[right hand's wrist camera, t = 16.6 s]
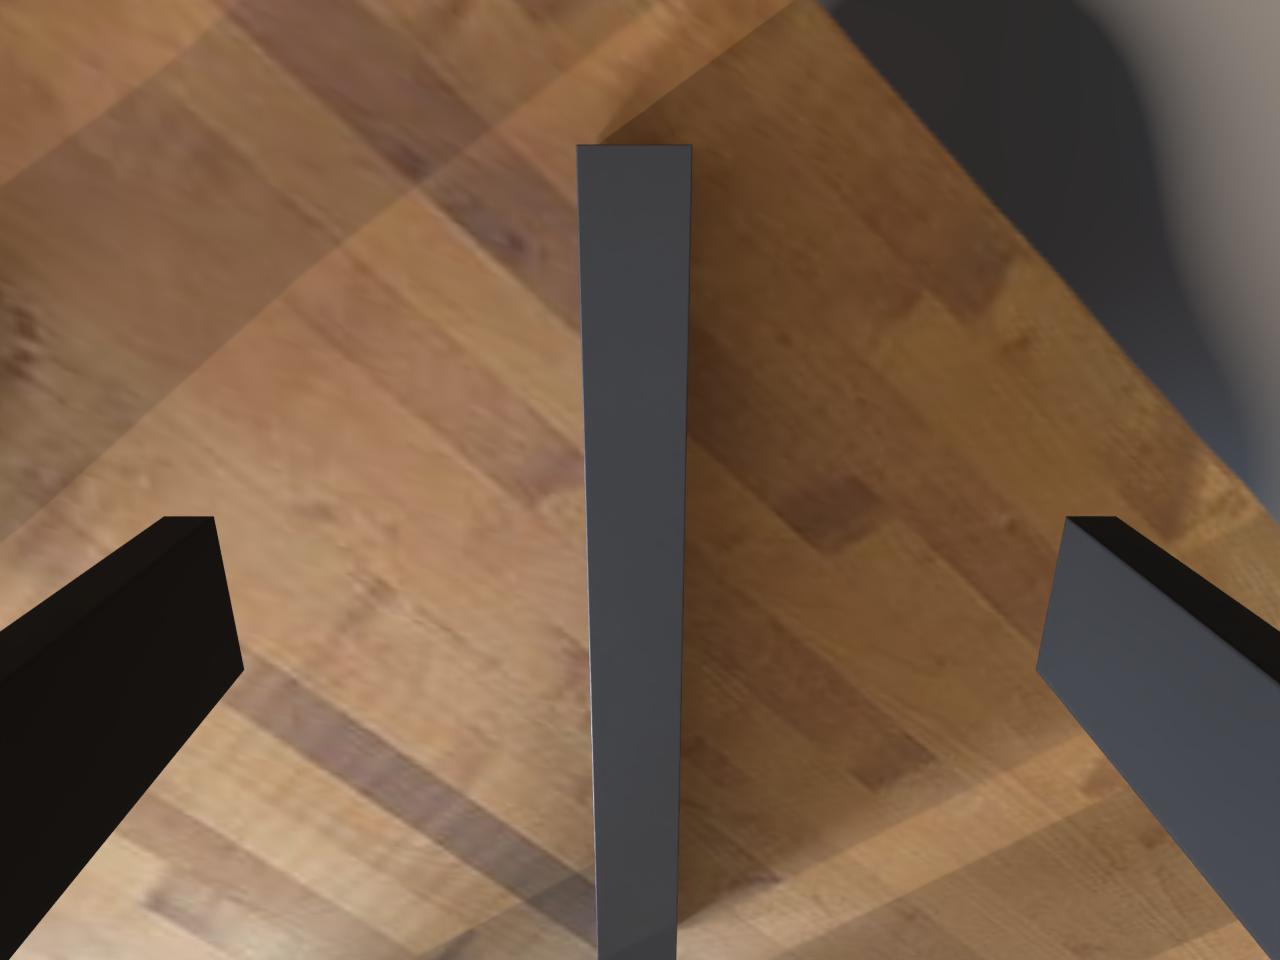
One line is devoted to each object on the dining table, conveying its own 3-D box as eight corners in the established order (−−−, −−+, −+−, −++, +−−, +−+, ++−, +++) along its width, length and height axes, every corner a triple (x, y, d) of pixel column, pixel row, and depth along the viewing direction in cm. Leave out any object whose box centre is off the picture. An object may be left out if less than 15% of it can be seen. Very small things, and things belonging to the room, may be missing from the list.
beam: (587, 151, 42) (575, 144, 35) (682, 151, 42) (692, 144, 35) (604, 930, 61) (599, 1038, 54) (670, 930, 61) (674, 1038, 54)
